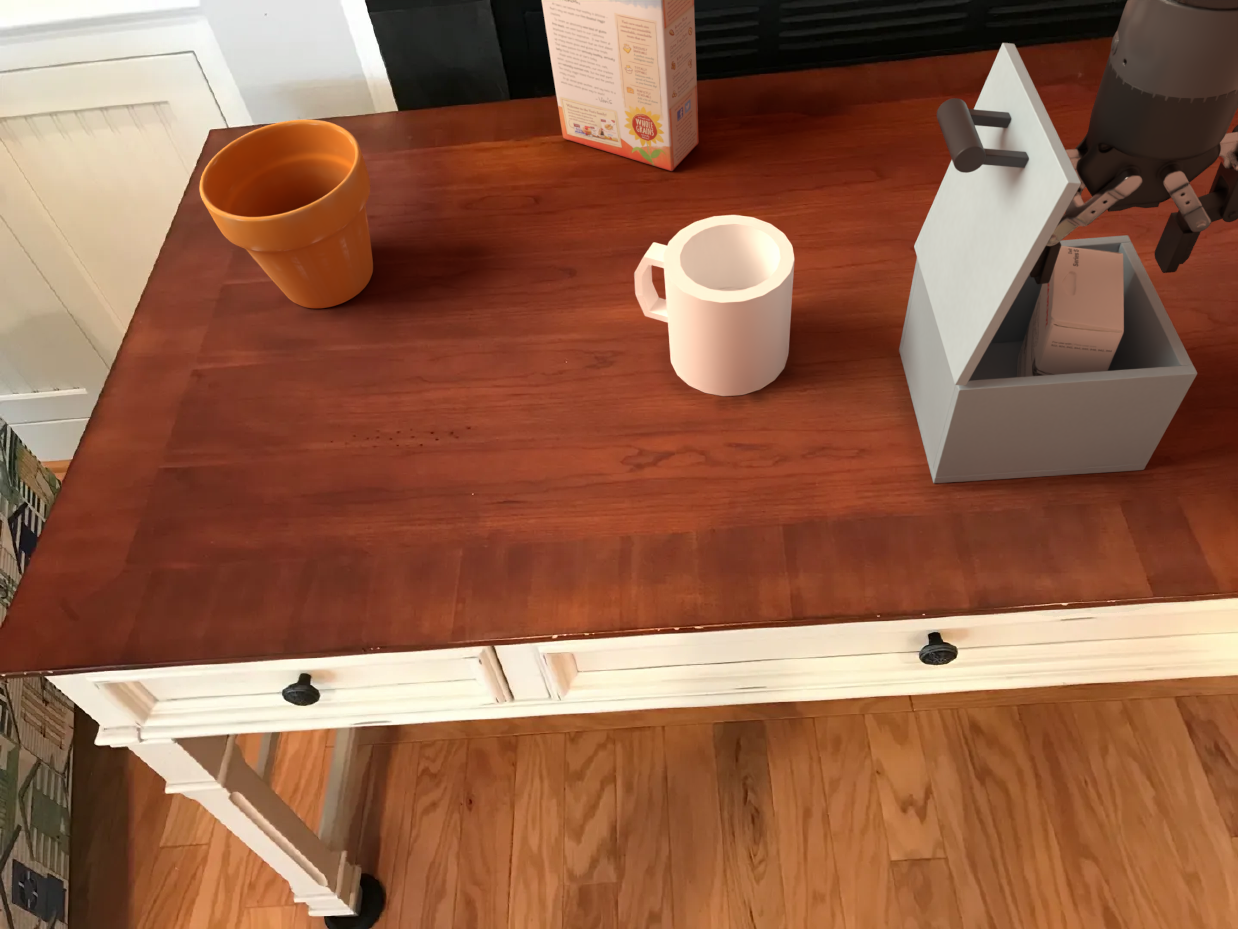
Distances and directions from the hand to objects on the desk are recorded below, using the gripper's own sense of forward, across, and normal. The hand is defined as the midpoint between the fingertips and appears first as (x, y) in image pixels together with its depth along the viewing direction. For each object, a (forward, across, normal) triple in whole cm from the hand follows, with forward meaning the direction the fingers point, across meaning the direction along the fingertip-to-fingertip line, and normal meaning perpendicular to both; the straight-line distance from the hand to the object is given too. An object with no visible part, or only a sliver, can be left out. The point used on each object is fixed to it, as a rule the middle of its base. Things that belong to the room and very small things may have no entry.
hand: (1101, 270), depth 69 cm
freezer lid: (-6, -9, -1) cm, 11 cm away
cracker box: (+13, -33, +39) cm, 53 cm away
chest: (+13, -4, -1) cm, 14 cm away
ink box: (+12, -1, -1) cm, 12 cm away
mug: (+13, -26, +8) cm, 31 cm away
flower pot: (+12, -63, +21) cm, 68 cm away
